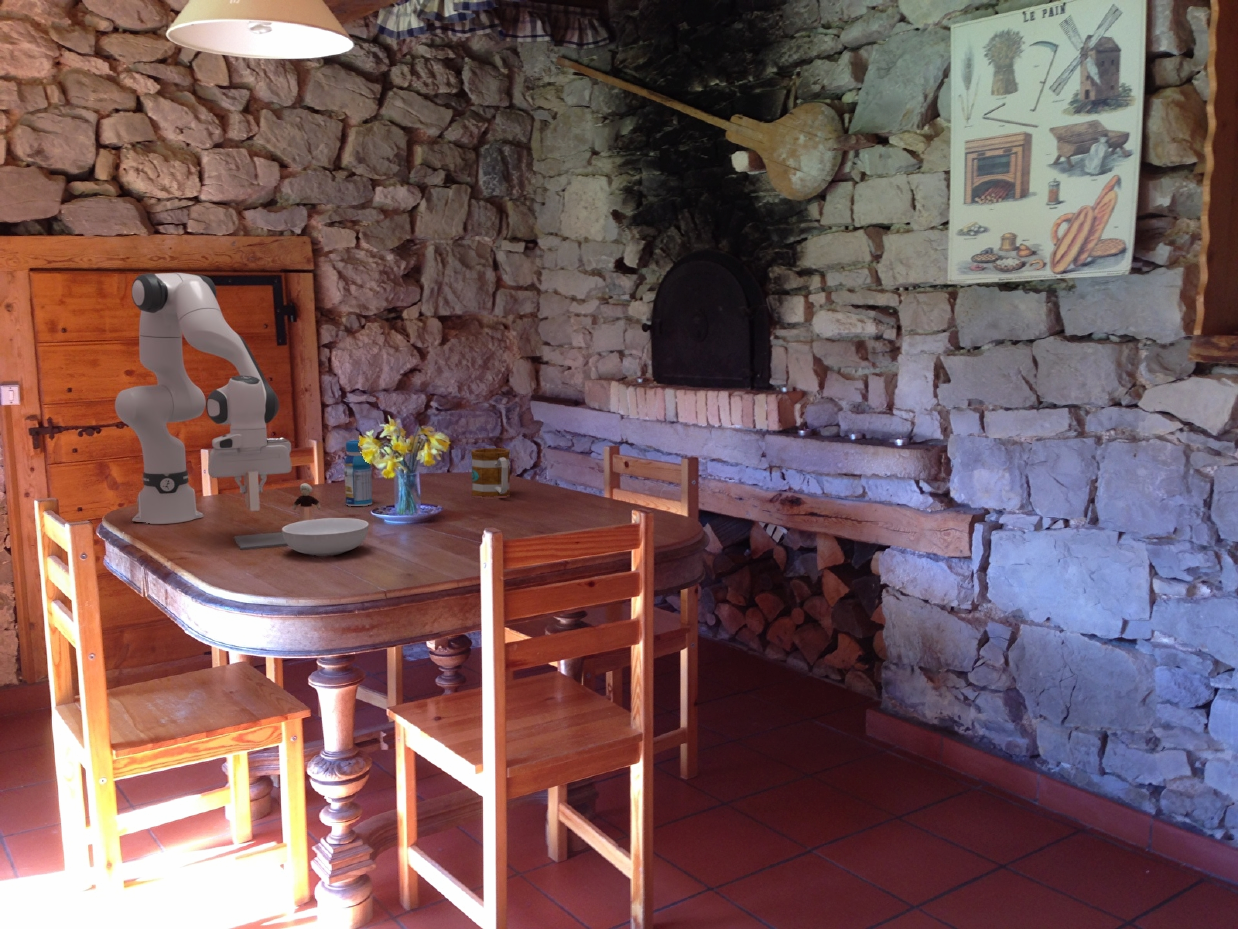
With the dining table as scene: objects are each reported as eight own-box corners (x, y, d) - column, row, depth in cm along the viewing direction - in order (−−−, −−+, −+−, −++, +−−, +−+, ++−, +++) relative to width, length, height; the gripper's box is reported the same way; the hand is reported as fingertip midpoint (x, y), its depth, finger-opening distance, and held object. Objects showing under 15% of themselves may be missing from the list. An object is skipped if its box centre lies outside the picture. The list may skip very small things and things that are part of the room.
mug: (464, 494, 345) (464, 449, 343) (502, 491, 351) (502, 447, 349) (486, 503, 328) (485, 456, 326) (525, 500, 334) (525, 454, 332)
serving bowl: (336, 539, 275) (335, 514, 274) (386, 551, 262) (385, 524, 261) (266, 553, 259) (265, 526, 258) (315, 566, 246) (314, 537, 245)
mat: (233, 538, 275) (233, 536, 275) (296, 533, 282) (296, 531, 282) (240, 549, 262) (240, 547, 262) (306, 543, 269) (306, 541, 269)
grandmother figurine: (292, 530, 286) (291, 484, 284) (293, 527, 290) (291, 482, 288) (321, 528, 288) (320, 483, 286) (321, 526, 292) (320, 481, 290)
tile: (245, 506, 272) (243, 468, 271) (255, 505, 273) (253, 467, 272) (249, 511, 265) (247, 472, 263) (259, 510, 266) (257, 471, 265)
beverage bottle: (366, 507, 320) (364, 443, 317) (340, 506, 321) (338, 442, 318) (377, 502, 328) (375, 440, 325) (351, 502, 330) (349, 439, 327)
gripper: (288, 436, 274) (291, 487, 276) (205, 440, 265) (208, 493, 267) (292, 438, 268) (295, 491, 270) (208, 442, 259) (211, 497, 261)
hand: (251, 492), depth 268 cm, fingers closed on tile, 2 cm apart
